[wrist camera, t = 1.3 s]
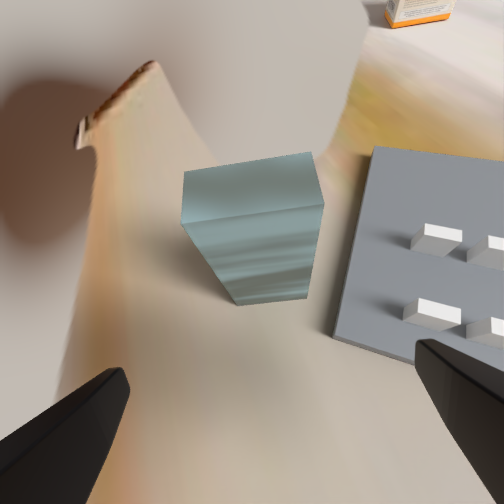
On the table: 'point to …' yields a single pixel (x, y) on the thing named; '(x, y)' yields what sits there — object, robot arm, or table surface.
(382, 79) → the table surface
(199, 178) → the tall streaky grey pillar
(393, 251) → the base plate
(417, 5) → the supplement box
